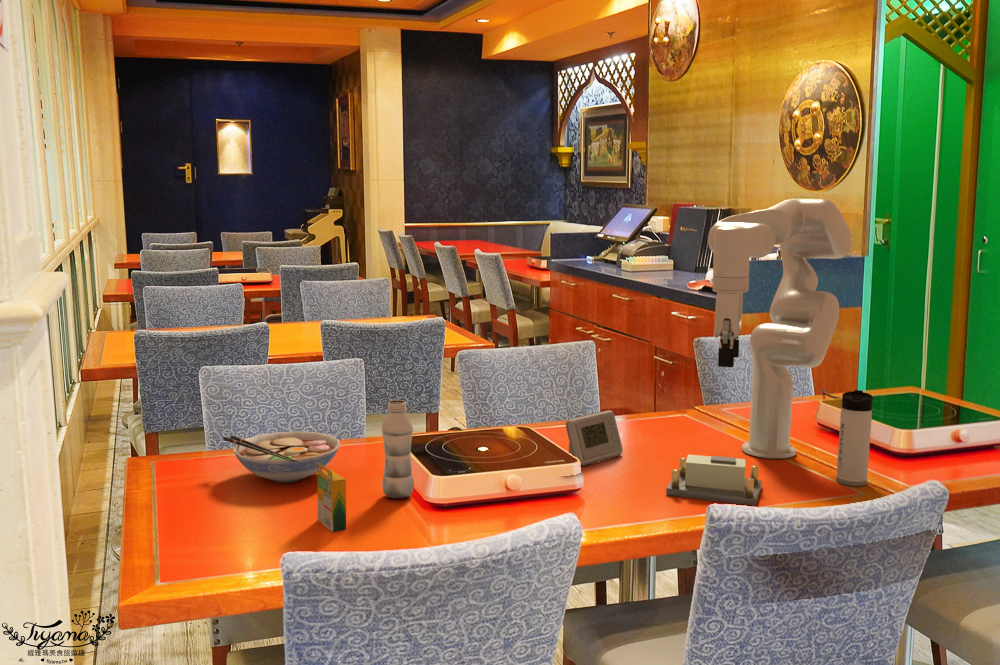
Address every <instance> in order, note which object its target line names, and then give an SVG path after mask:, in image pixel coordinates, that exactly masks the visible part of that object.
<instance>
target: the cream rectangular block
mask: <svg viewBox="0 0 1000 665" xmlns="http://www.w3.org/2000/svg"><path fill="white" fill-rule="evenodd" d="M686 458H687V460H686V472H685V485H686V486H697V487H708V488H719V489H730V490H741V491H744V480H745V479H746V478H745V477H746V476H745V475H746V459H745V458H736V457H730V456H729V457H728V456H722V455H721V456H716V455H711V456H710V455H709V456H708V455H699V454H695V455H694V454H687V457H686Z"/></svg>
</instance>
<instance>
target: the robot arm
mask: <svg viewBox="0 0 1000 665" xmlns="http://www.w3.org/2000/svg"><path fill="white" fill-rule="evenodd" d="M852 238H853V237H852V233H851V230H850V228H849V226H848V224H847V221H846V219H845V218H844V216H843V214H842V213H841V211H840V209H839V207H838V206H837V205H836V204H835V203H834V202H833V201H832V200H830V199H827V198H826V199H825V198H789V199H785V200H783V201H780V202H779V203H777V204H775V205H773V206H770V207H768V208H766V209H758V210H754V211H750V212H746V213H740V214H734V215H730V216H727V217H725V218H723V219H720V220H717V222H715V223H714V224H713V225H712V226H711V228H710V230H709V232H708V234H707V244H708V248H709V250H710V251H711V252H712V253H713V256H712V257H713V259H712V261H713V262H712V264H713V266H712V291H713V292H714V293H716V298H715V299H716V300H715V311H714V312H715V314H714V328H713V336H714V338H716V339H718V338H719V342H718V343H719V346H718V356H717V357H718V358H717V359H718V360H717V366H718V367H720V368H733V367H734V366H735V365H734V364H735V363H734V362H735V358H739V356H740V339H739V334H740V333H741V332H742V331H741V330H742V319H743V302H744V300H743V299H744V294H745V293H748V292H749V290H750V289H749V288H750V287H749V286H750V285H749V284H750V258H754V259H755V258H756V259H759V258H765V257H766V256H769V255H770V254H771V252H772V251H773V249H774V247H775V246H776V245H779V251H780V257H781V263H782V270H783V272H782V273H783V274H782V277H781V280H780V283H779V285H778V288H777V290H776V292H775V295H774V297H773V299H772V302H771V304H770V308H769V318H770V320H771V322H767V323H761V324H759V325H757V326H756V327H754V328H753V329H752V331H751V334H750V338H749V347H750V348H749V349H750V355H751V364H752V365H751V367H752V375H751V376H752V377H751V378H752V379H751V380H752V381H751V397H750V398H751V399H750V414H749V416H750V418H749V434H748V441H747V442H744V443H742V445H741V450H742V452H744V453H745V454H747V455H750V456H754V457H756V458H763V459H772V460H773V459H775V460H776V459H779V460H780V459H789V458H792V457H795V455H796V454H797V453H796V452H797V450H796V448H795V447H794V446H793V445H791V443H790V442H791V441H790V440H791V439H790V438H791V426H792V425H791V423H792V409H793V394H794V392H793V391H794V381H793V378H792V376H791V373H790V371H789V369H788V368H787V366H793V367H801V368H809V369H810V368H811V369H812V368H816V367H818V366H820V365H821V364H822V362H823V360H824V359H825V356H826V354H827V353H828V352H827V351H828V349H829V347H830V344H831V340H832V338H833V335H834V333H835V331H836V328H837V324H838V322H839V317H840V303H839V299H838V298H837V296H835V295H834V294H833V293H831V292H828V291H821V290H816V289H817V287H818V283H819V278H818V277H819V276H817V273H816V271H815V270H814V268H813V267H812V266H811V264H810V263H809V262H808V261H807V259H806V258H810V259H827V260H828V259H830V260H838V259H842V258H844V257H846V256H847V255H848V254H849V253H850V251H851V248H852V241H853V240H852Z"/></svg>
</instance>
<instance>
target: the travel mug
mask: <svg viewBox="0 0 1000 665" xmlns="http://www.w3.org/2000/svg"><path fill="white" fill-rule="evenodd" d="M841 397H842V398H841V406H840V409H841V410H840V422H839V433H838V434H839V436H838V447H837V448H838V449H837V450H838V451H837V462H836V463H837V467H836V482H837V481H838V482H837V483H839V484H840V483H842V484H841V485H843V484H845V485H844V486H847V485H849V486H848V487H856V486H858V487H863V486H865V485H867V483H868V472H869V458H870V456H869V455H870V447H871V445H870V444H871V431H872V430H871V429H872V416H873V413H872V412H873V400H874V399H873V398H874V396H873V395H872V394H870V393H868V392H864V391H863V390H860V389H859V390H858V389H854V390H853V391H845V392H843V393H842V395H841Z"/></svg>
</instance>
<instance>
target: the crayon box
mask: <svg viewBox="0 0 1000 665" xmlns="http://www.w3.org/2000/svg"><path fill="white" fill-rule="evenodd" d="M316 474H317V477H316V478H317V482H316V483H317V522H319V523H321V524H322V525H323V526H324V527H325V528H327V529H328V530H329V531H331V533H337V532H340V531H345V530H347V479H346V478H344V477H343V476H342V475H340V474H338V473H337V472H335V471H333V470H332V469H328V468H327V466H325V467H324V466H323V465H321V464H320V463H318V462H317V473H316Z"/></svg>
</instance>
